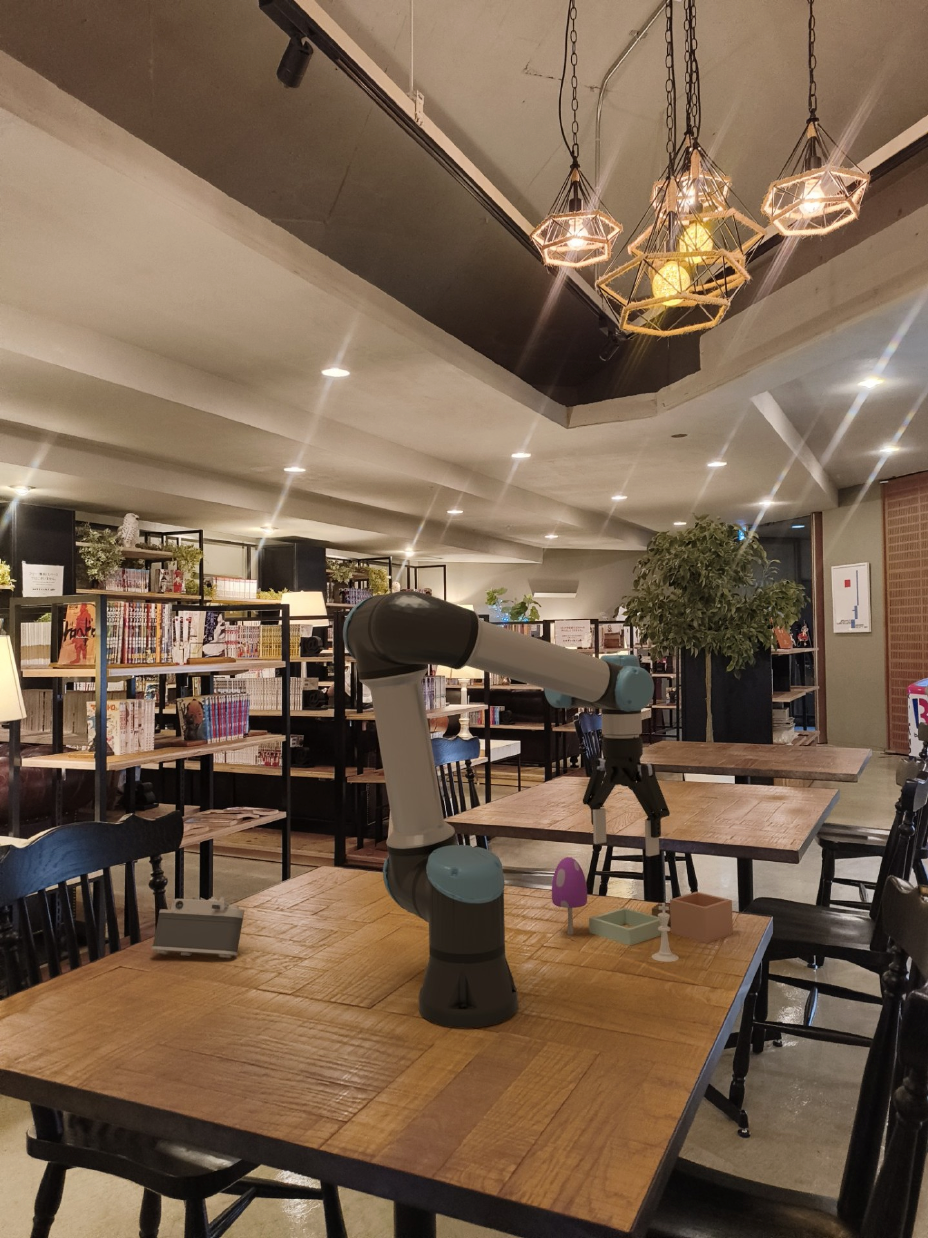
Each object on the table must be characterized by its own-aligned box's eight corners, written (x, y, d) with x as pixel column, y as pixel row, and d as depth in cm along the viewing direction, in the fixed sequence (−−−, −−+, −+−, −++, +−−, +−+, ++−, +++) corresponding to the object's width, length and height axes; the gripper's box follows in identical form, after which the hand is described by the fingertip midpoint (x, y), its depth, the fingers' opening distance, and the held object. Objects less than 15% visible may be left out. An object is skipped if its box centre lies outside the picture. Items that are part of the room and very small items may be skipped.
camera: (231, 957, 155) (241, 896, 160) (145, 951, 157) (158, 892, 162) (247, 962, 163) (257, 904, 168) (166, 956, 165) (178, 900, 170)
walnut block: (672, 932, 167) (671, 911, 167) (652, 929, 169) (651, 908, 169) (679, 926, 171) (678, 906, 171) (659, 923, 173) (658, 903, 173)
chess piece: (680, 967, 148) (678, 908, 149) (650, 966, 149) (649, 907, 150) (679, 957, 153) (677, 899, 154) (650, 956, 154) (648, 899, 155)
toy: (590, 943, 162) (588, 861, 162) (554, 943, 162) (552, 862, 162) (586, 931, 168) (584, 853, 169) (551, 932, 169) (549, 853, 169)
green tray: (629, 950, 158) (629, 930, 158) (589, 936, 165) (589, 918, 166) (665, 937, 164) (665, 919, 164) (625, 925, 172) (624, 907, 172)
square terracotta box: (706, 948, 158) (705, 908, 158) (671, 937, 164) (669, 899, 164) (733, 938, 163) (731, 900, 163) (697, 928, 169) (696, 891, 169)
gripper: (686, 738, 158) (690, 857, 157) (590, 730, 178) (593, 835, 177) (658, 741, 153) (662, 863, 153) (563, 733, 174) (566, 841, 173)
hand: (625, 849), depth 165 cm, fingers open, 13 cm apart
